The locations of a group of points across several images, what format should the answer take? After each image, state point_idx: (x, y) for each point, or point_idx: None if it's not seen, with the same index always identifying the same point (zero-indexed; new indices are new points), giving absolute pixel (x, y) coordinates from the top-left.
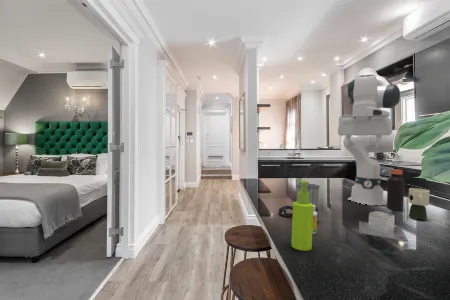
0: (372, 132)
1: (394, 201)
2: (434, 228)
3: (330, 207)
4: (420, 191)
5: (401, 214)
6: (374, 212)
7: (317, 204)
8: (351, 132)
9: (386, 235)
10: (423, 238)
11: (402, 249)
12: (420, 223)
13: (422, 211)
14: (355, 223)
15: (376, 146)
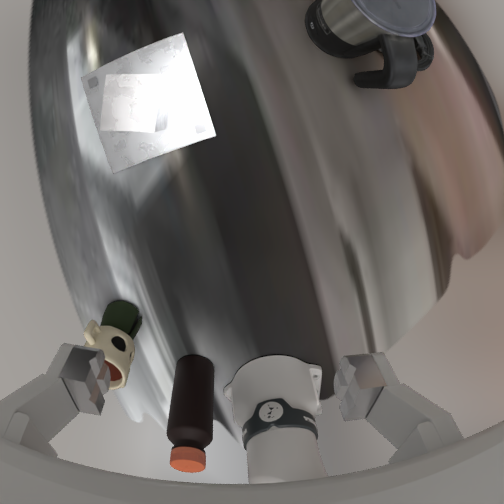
0: (25, 480)
1: (189, 373)
2: (73, 255)
3: (343, 247)
4: None
5: (164, 330)
6: (151, 102)
7: (324, 3)
8: (422, 491)
9: (122, 64)
10: (64, 139)
11: (85, 17)
12: (104, 276)
13: (103, 318)
14: (221, 115)
15: (68, 345)
